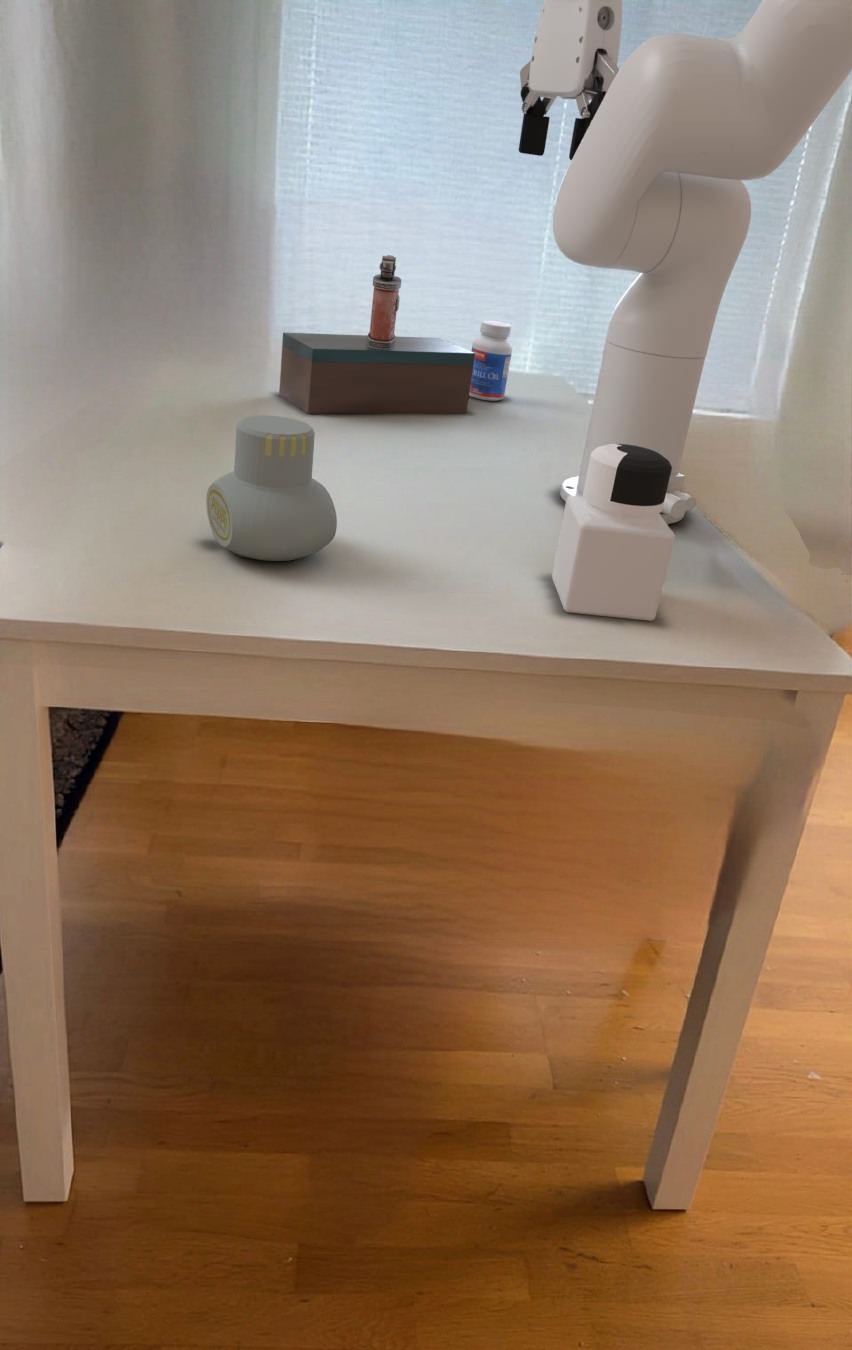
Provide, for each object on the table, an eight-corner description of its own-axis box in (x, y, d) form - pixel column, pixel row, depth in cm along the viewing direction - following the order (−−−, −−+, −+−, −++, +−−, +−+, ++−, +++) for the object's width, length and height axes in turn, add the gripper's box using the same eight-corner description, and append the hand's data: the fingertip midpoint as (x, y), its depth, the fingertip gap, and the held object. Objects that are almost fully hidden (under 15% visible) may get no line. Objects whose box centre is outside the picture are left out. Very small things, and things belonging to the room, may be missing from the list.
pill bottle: (460, 396, 144) (470, 321, 140) (470, 389, 149) (480, 317, 145) (499, 403, 143) (511, 329, 139) (508, 397, 148) (519, 324, 144)
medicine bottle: (635, 587, 87) (669, 443, 82) (655, 622, 81) (692, 469, 76) (550, 578, 87) (578, 432, 81) (563, 613, 80) (594, 458, 75)
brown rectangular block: (466, 413, 136) (475, 353, 133) (308, 414, 125) (312, 348, 122) (432, 395, 143) (439, 338, 139) (279, 394, 132) (282, 332, 129)
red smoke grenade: (393, 350, 127) (402, 262, 122) (364, 347, 127) (373, 258, 122) (396, 339, 134) (405, 255, 130) (369, 335, 134) (377, 251, 130)
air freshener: (342, 572, 82) (354, 445, 78) (237, 578, 79) (244, 445, 74) (295, 524, 91) (303, 407, 86) (199, 527, 87) (202, 405, 83)
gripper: (667, -22, 105) (631, 169, 113) (565, -15, 118) (539, 155, 126) (608, -37, 102) (574, 161, 109) (509, -28, 115) (485, 148, 122)
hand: (555, 158), depth 118 cm, fingers open, 9 cm apart
